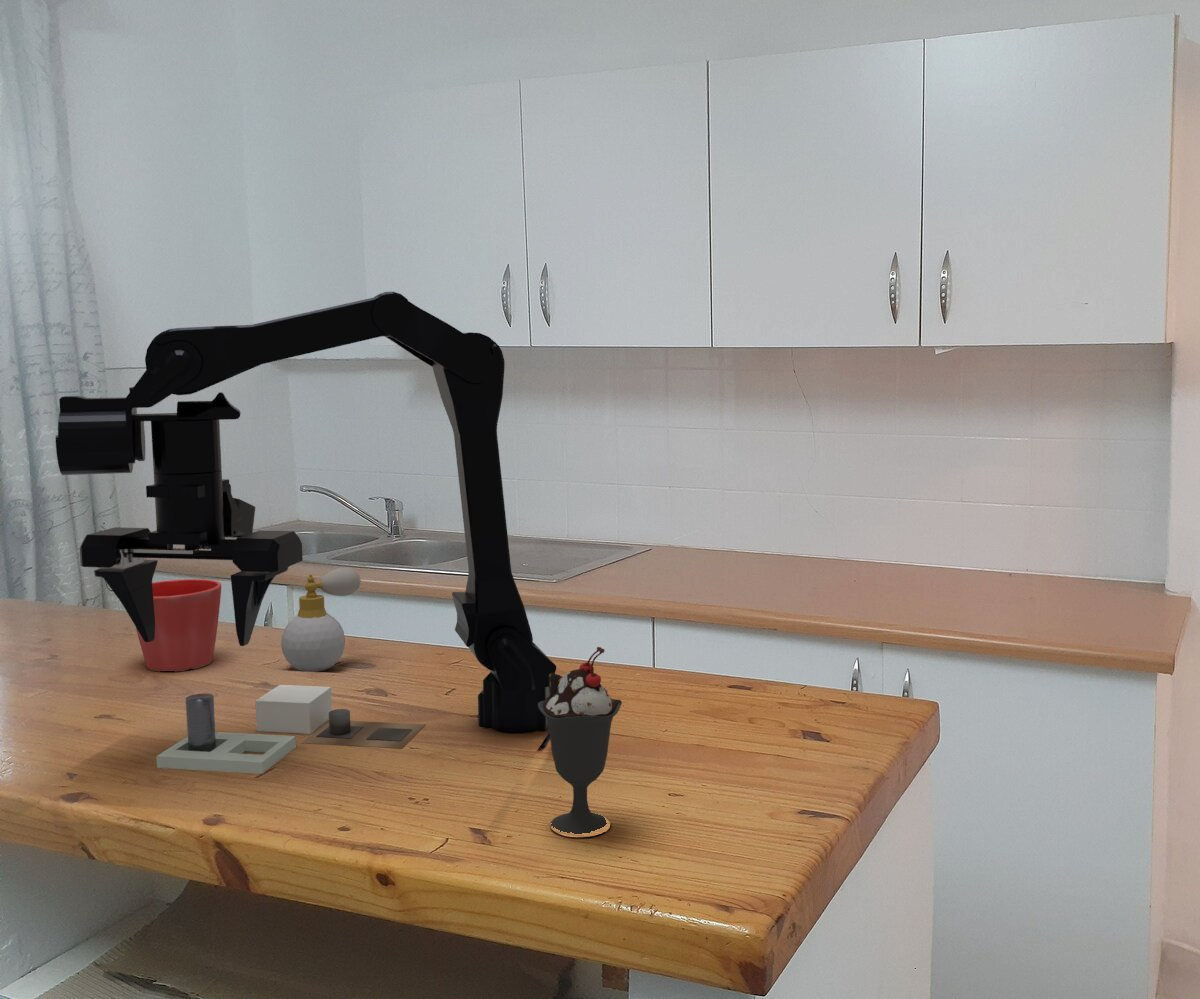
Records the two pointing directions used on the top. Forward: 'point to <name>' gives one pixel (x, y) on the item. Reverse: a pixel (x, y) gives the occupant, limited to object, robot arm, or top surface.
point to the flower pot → (183, 624)
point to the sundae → (579, 738)
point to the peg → (200, 722)
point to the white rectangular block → (293, 709)
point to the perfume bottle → (318, 624)
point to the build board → (230, 753)
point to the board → (362, 732)
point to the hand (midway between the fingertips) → (196, 643)
